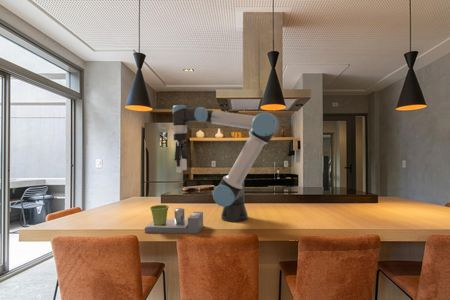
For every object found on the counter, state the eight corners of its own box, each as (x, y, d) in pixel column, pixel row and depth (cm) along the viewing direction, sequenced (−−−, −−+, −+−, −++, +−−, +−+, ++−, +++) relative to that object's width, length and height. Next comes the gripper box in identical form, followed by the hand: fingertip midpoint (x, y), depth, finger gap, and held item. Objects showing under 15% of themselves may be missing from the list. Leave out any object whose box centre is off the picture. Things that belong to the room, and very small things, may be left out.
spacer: (181, 221, 163) (181, 207, 163) (186, 223, 159) (186, 209, 159) (173, 222, 161) (172, 209, 160) (177, 224, 156) (177, 210, 156)
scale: (203, 226, 165) (202, 210, 165) (198, 233, 152) (197, 217, 152) (154, 225, 168) (153, 210, 168) (145, 232, 156) (144, 216, 155)
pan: (191, 221, 165) (191, 219, 165) (186, 227, 153) (186, 226, 153) (155, 220, 168) (155, 219, 168) (147, 227, 156) (147, 225, 156)
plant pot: (167, 226, 154) (167, 208, 154) (148, 226, 154) (147, 209, 154) (170, 221, 163) (170, 204, 163) (152, 221, 163) (152, 205, 163)
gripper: (178, 133, 186) (180, 169, 187) (167, 133, 161) (169, 173, 162) (191, 133, 186) (192, 168, 186) (182, 132, 161) (183, 173, 161)
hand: (181, 171), depth 174 cm, fingers open, 13 cm apart
